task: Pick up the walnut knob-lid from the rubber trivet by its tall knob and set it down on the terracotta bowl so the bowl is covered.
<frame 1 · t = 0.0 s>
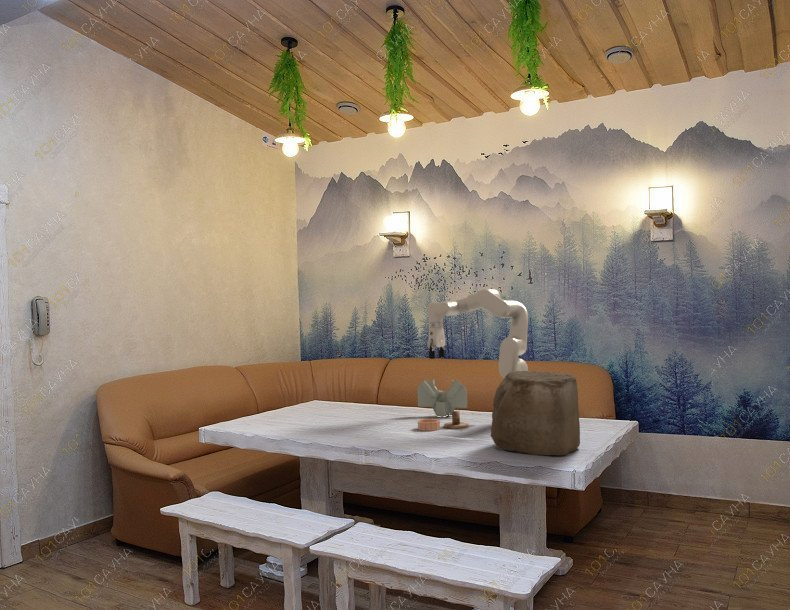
hand: (437, 357, 337), 31 cm above the table, tool pointing down, fingers open, 9 cm apart
bracket: (442, 417, 337), on the table
stone block: (532, 449, 254), on the table
lid: (456, 426, 303), point 1 cm above the table, touching trivet
bowl: (429, 430, 300), on the table
trivet: (456, 428, 303), on the table
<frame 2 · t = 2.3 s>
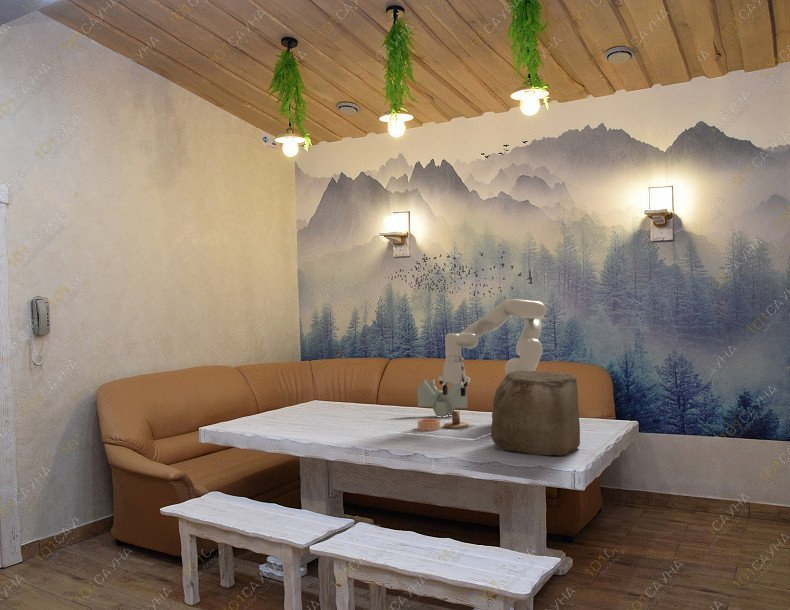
hand: (454, 395, 303), 16 cm above the table, tool pointing down, fingers open, 9 cm apart
nothing on the table moved.
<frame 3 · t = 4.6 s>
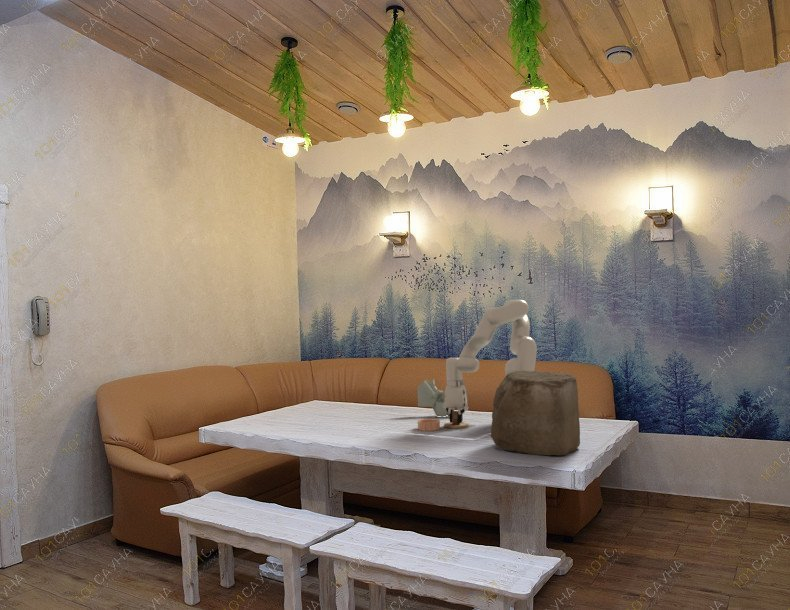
hand: (456, 421, 303), 3 cm above the table, tool pointing down, fingers closed on lid, 3 cm apart
lid: (456, 426, 303), point 1 cm above the table, touching gripper, trivet
everything else where it was.
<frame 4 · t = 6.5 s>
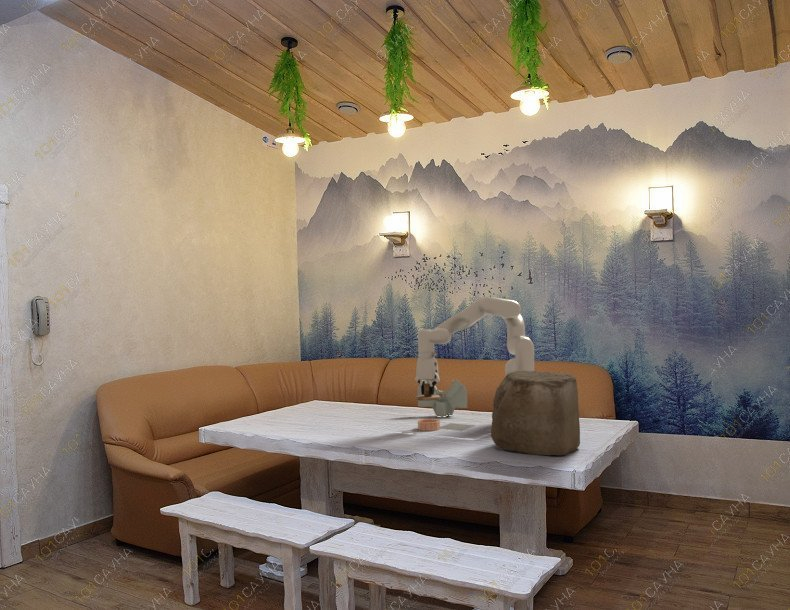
hand: (427, 394, 300), 17 cm above the table, tool pointing down, fingers closed on lid, 3 cm apart
lid: (427, 398, 300), point 15 cm above the table, touching gripper
everything else where it was.
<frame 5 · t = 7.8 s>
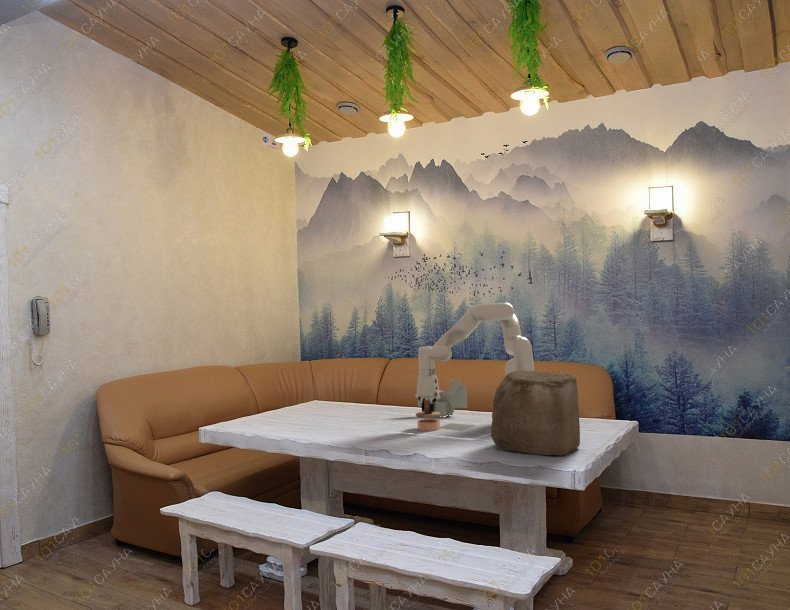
hand: (428, 411, 300), 9 cm above the table, tool pointing down, fingers closed on lid, 3 cm apart
lid: (428, 415, 300), point 7 cm above the table, touching gripper
everything else where it was.
when the fingers open (8 cm above the table, at t = 8.8 s): lid stays where it is, resting on bowl.
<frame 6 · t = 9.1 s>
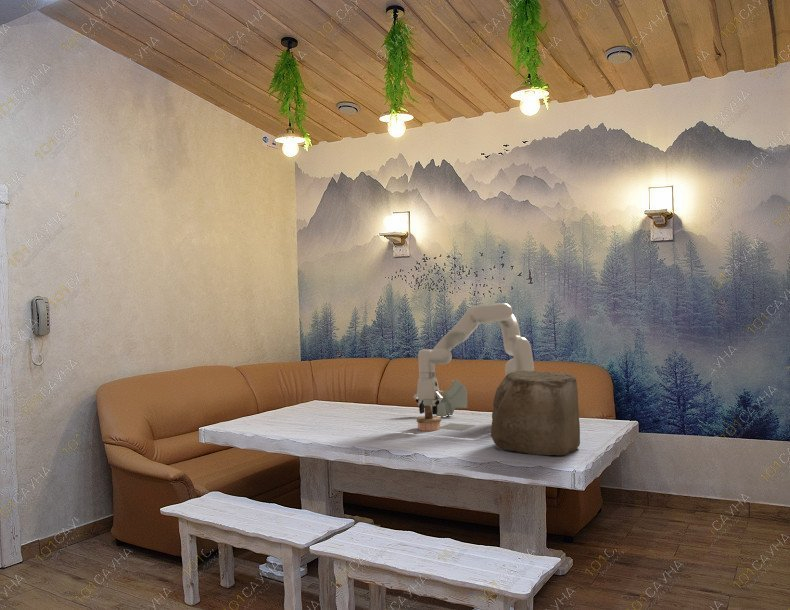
hand: (428, 413, 300), 8 cm above the table, tool pointing down, fingers open, 6 cm apart
lid: (428, 420, 300), point 4 cm above the table, touching bowl
everything else where it was.
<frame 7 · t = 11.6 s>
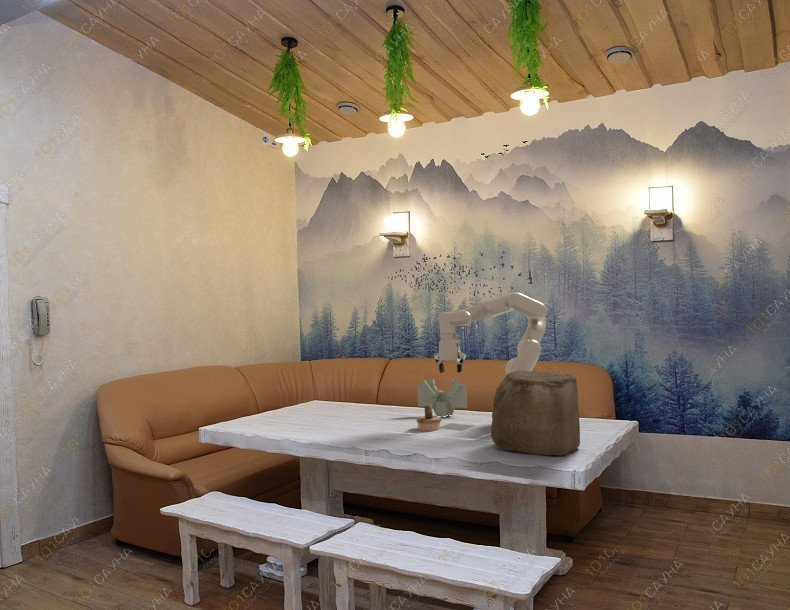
hand: (450, 372, 310), 26 cm above the table, tool pointing down, fingers open, 9 cm apart
nothing on the table moved.
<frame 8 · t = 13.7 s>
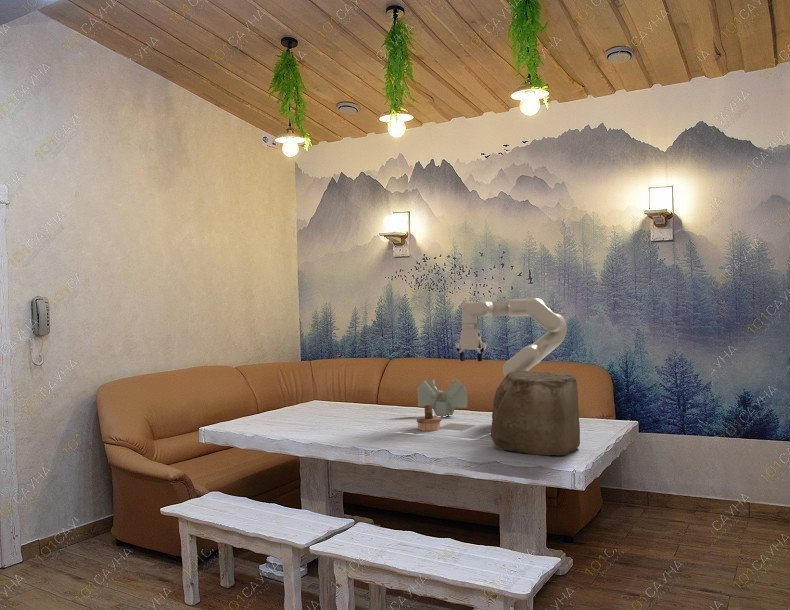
hand: (471, 361, 319), 30 cm above the table, tool pointing down, fingers open, 9 cm apart
nothing on the table moved.
at the end: lid 0.1 cm off-centre on the bowl, point 4.5 cm above the bowl's base; lid tilted 0°; the gripper is holding nothing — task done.
